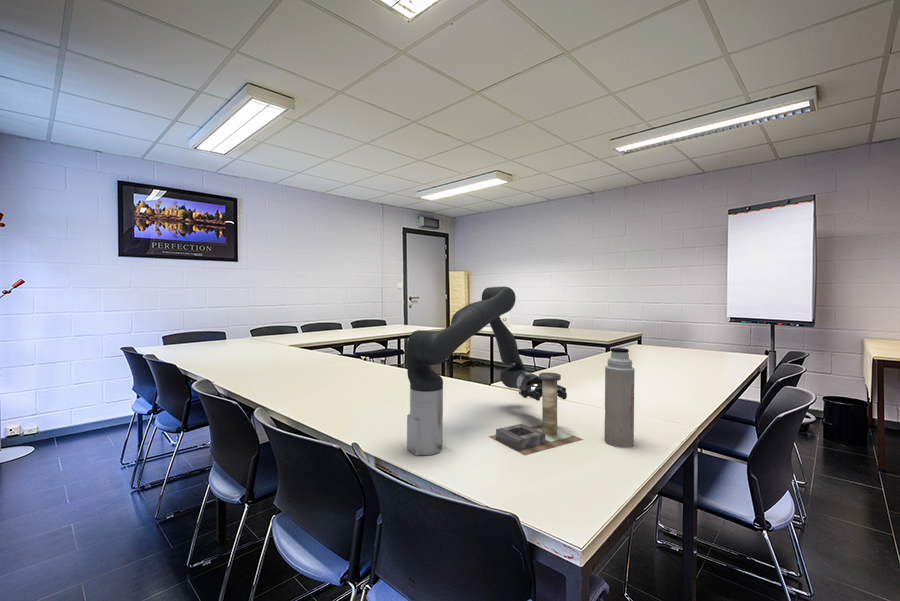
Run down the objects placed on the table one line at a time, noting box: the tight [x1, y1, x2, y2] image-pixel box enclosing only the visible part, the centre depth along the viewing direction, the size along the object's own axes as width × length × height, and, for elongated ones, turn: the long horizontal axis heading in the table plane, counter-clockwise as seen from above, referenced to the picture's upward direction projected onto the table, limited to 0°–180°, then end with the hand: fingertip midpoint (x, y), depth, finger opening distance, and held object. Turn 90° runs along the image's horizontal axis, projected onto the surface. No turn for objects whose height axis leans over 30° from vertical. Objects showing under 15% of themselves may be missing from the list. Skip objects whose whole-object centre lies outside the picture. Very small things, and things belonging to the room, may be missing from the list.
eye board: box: [488, 423, 584, 456], centre depth 115 cm, size 23×16×4 cm
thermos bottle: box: [603, 347, 636, 448], centre depth 114 cm, size 8×8×28 cm
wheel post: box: [538, 372, 562, 436], centre depth 118 cm, size 6×6×18 cm
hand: (552, 396), depth 117 cm, fingers open, 8 cm apart
